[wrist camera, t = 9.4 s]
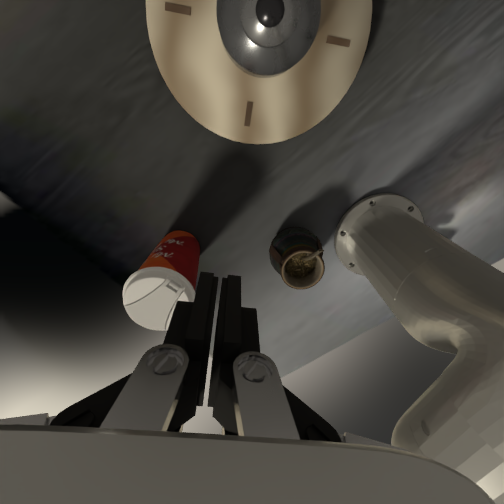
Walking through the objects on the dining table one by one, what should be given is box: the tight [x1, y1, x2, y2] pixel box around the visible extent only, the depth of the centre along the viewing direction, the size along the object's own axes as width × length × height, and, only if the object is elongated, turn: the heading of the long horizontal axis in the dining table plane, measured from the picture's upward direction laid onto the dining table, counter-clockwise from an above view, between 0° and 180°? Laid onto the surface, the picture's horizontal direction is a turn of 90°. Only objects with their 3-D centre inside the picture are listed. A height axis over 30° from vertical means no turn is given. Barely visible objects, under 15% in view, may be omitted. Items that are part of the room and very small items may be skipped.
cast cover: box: [216, 0, 321, 78], centre depth 27 cm, size 9×9×5 cm
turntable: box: [146, 0, 372, 144], centre depth 30 cm, size 22×22×2 cm
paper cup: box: [123, 230, 200, 330], centre depth 37 cm, size 8×8×14 cm
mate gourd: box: [269, 227, 325, 289], centre depth 39 cm, size 7×8×10 cm
